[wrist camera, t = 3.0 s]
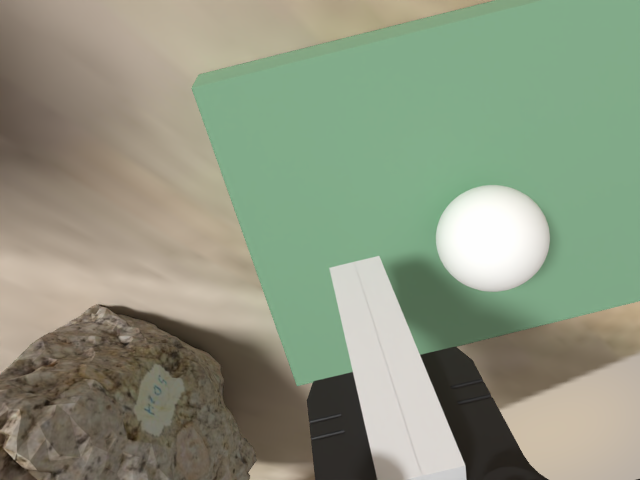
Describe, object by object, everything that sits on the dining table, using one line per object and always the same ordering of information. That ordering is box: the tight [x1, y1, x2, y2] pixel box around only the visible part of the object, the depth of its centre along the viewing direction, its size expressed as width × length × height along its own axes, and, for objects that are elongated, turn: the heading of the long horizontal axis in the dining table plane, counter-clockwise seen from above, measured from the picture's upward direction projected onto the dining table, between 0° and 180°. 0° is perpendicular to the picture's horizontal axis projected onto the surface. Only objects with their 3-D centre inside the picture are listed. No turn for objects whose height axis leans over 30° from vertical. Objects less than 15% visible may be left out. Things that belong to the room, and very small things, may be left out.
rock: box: [0, 305, 256, 480], centre depth 17 cm, size 14×10×8 cm
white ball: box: [436, 185, 550, 292], centre depth 15 cm, size 4×4×4 cm
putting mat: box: [192, 0, 640, 386], centre depth 17 cm, size 28×13×4 cm, turn 102°
